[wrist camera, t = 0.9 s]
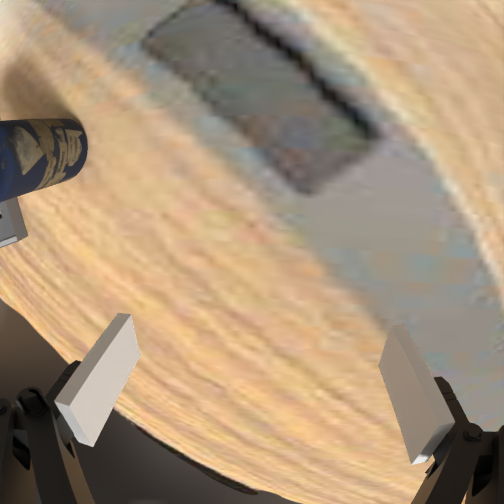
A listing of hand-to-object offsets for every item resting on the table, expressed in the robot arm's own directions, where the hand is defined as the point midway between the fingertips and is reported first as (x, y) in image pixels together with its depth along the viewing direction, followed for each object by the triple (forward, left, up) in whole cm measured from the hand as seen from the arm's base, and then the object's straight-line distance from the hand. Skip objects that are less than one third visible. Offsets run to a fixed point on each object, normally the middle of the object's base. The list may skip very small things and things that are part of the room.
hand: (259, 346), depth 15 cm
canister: (-16, -27, -28) cm, 42 cm away
